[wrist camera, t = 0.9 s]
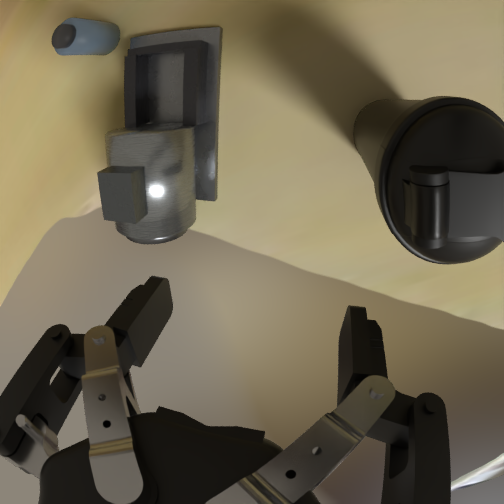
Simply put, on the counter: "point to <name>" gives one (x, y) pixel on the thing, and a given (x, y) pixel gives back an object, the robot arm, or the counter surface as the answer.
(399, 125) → the water bottle
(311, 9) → the counter surface
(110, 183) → the electric motor
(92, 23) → the blue capped cylinder
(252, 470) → the robot arm
